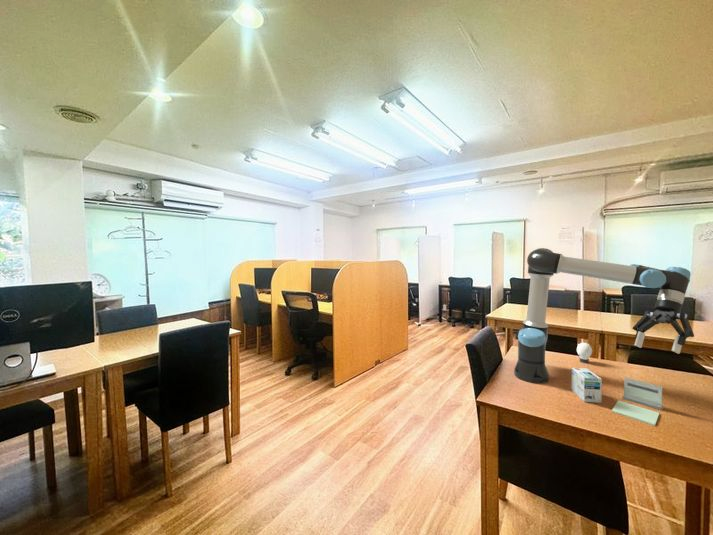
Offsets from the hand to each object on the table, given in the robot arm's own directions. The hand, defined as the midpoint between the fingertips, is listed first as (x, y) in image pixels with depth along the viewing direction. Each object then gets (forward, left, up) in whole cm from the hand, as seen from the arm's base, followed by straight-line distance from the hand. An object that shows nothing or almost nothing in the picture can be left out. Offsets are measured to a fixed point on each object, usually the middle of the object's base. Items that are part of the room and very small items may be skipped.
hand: (655, 349), depth 118 cm
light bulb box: (-19, -14, -23) cm, 33 cm away
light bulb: (-30, +29, -23) cm, 48 cm away
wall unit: (-3, -4, -23) cm, 23 cm away
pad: (-3, -15, -23) cm, 28 cm away
